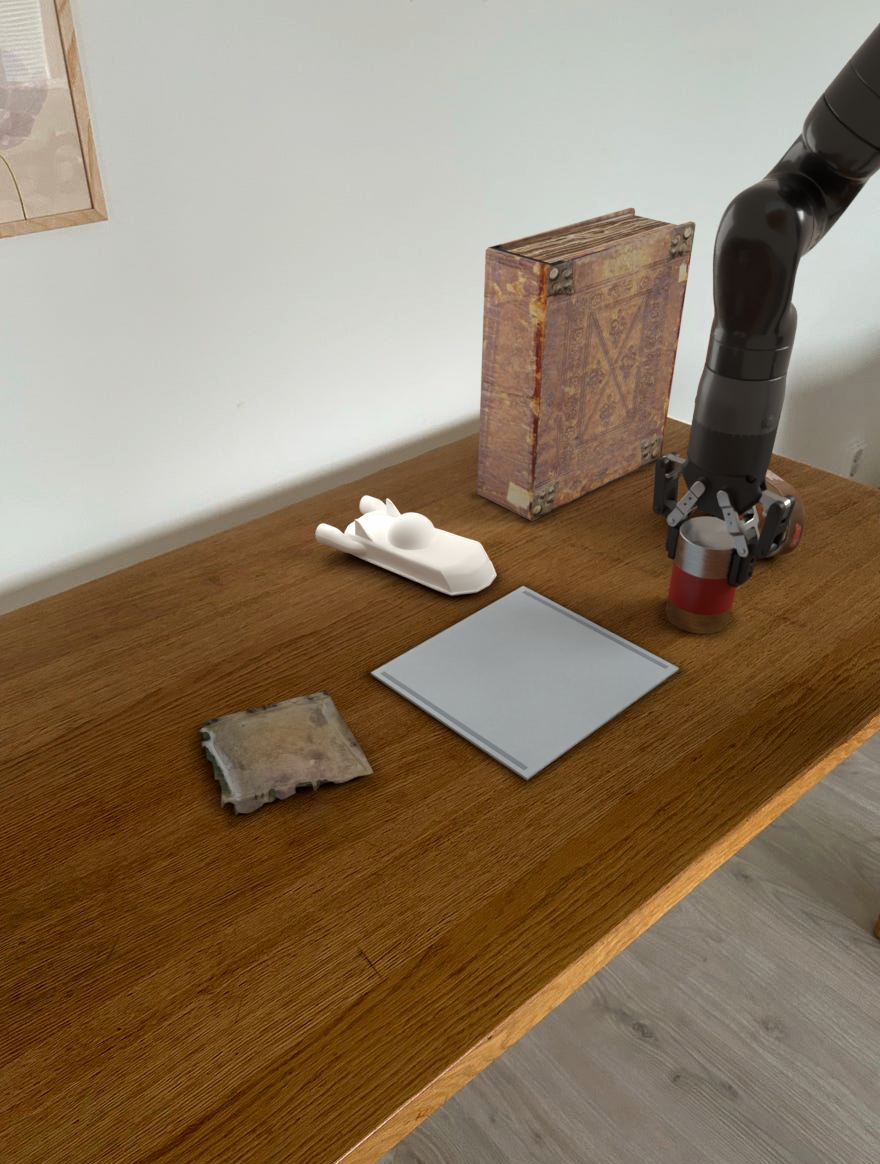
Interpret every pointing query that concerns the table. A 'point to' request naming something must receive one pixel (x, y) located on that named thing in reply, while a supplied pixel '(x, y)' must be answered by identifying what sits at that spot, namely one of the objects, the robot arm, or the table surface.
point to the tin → (796, 519)
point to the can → (702, 577)
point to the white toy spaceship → (412, 548)
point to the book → (578, 357)
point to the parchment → (281, 750)
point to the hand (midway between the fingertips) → (705, 569)
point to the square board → (524, 679)
